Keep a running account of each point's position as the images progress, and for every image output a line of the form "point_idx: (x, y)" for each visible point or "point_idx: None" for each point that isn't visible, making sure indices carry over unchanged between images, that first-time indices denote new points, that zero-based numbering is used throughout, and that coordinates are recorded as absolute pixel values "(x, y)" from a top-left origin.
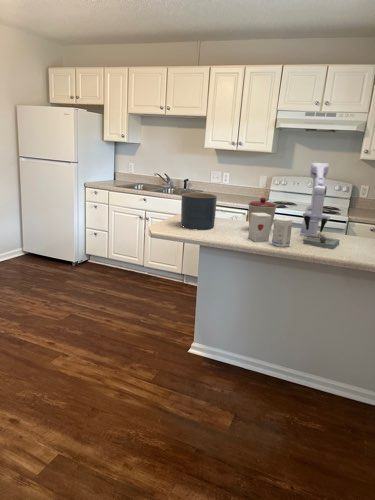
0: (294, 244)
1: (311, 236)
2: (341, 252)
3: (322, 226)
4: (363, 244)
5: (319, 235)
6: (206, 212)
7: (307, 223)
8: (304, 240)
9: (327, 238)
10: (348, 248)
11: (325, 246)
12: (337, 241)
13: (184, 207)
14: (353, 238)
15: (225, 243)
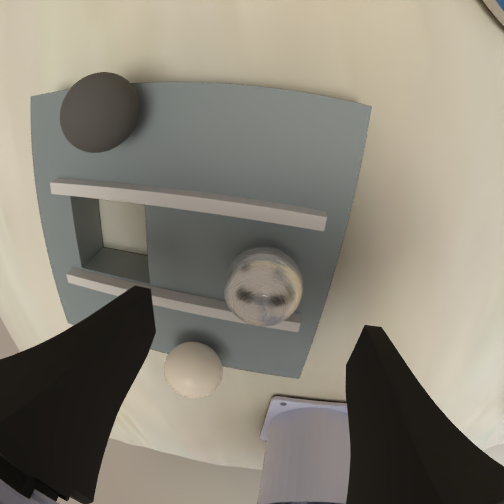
0: (435, 31)
1: (284, 253)
2: (12, 59)
3: (62, 337)
4: (29, 344)
5: (212, 351)
6: None
7: (405, 414)
8: (357, 103)
9: (118, 286)
10: (12, 213)
11: None
12: (49, 257)
13: None
14: None
15: None
